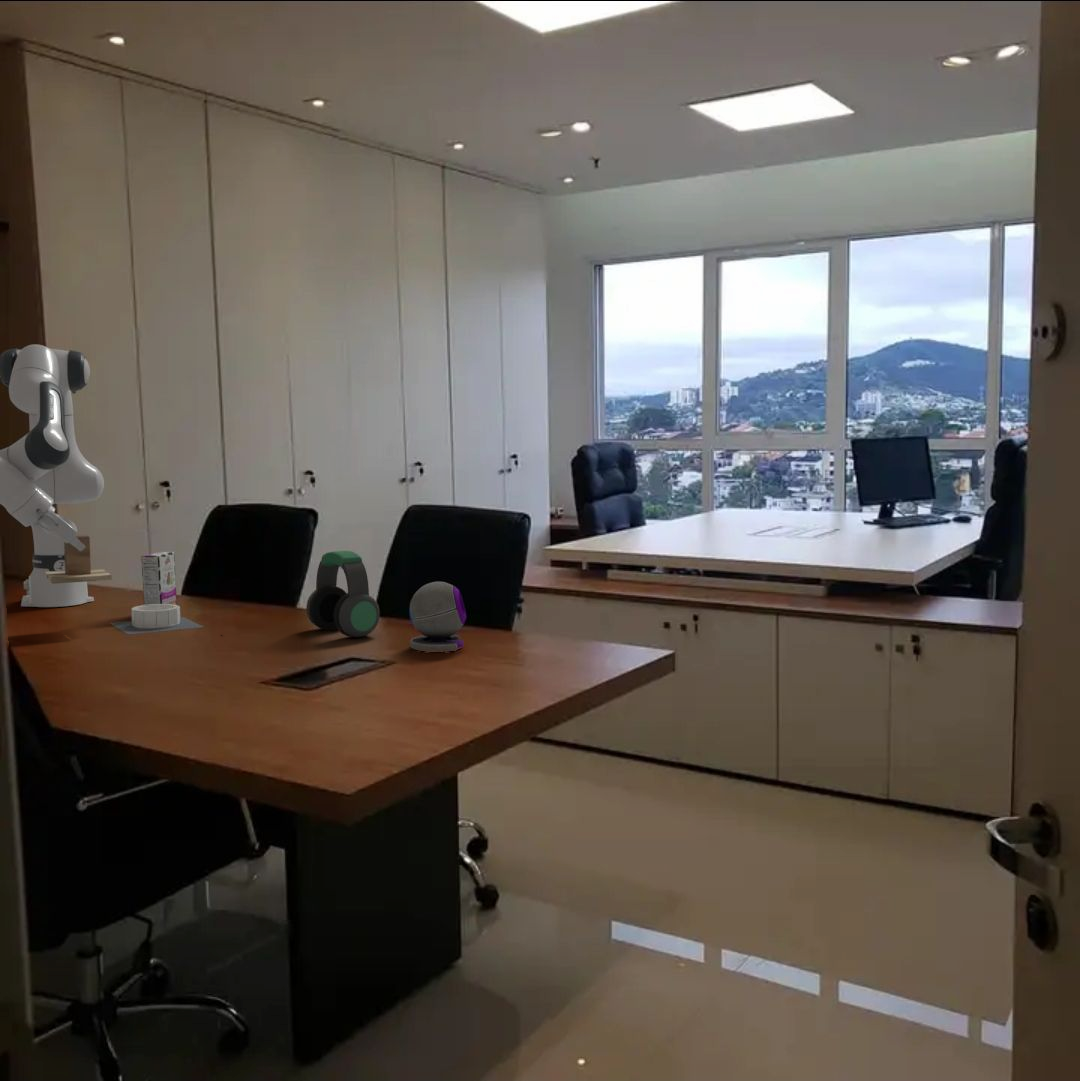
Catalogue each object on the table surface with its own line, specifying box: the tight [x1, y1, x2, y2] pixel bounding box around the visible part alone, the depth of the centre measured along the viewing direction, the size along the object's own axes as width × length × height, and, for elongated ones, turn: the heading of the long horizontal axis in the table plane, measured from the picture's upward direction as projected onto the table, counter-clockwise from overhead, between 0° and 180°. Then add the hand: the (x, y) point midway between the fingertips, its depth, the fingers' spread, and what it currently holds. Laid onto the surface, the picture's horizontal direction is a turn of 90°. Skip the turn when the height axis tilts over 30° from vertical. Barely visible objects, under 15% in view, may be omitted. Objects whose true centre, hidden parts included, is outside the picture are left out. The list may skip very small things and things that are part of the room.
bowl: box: [130, 604, 181, 629], centre depth 265 cm, size 11×11×4 cm
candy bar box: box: [140, 551, 178, 605], centre depth 279 cm, size 11×5×16 cm, turn 179°
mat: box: [109, 616, 204, 635], centre depth 265 cm, size 18×18×1 cm
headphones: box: [305, 550, 381, 638], centre depth 258 cm, size 19×11×20 cm, turn 42°
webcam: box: [408, 581, 467, 651], centre depth 242 cm, size 13×13×15 cm
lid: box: [45, 534, 113, 584], centre depth 257 cm, size 13×13×10 cm
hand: (79, 547), depth 257 cm, fingers closed on lid, 5 cm apart
